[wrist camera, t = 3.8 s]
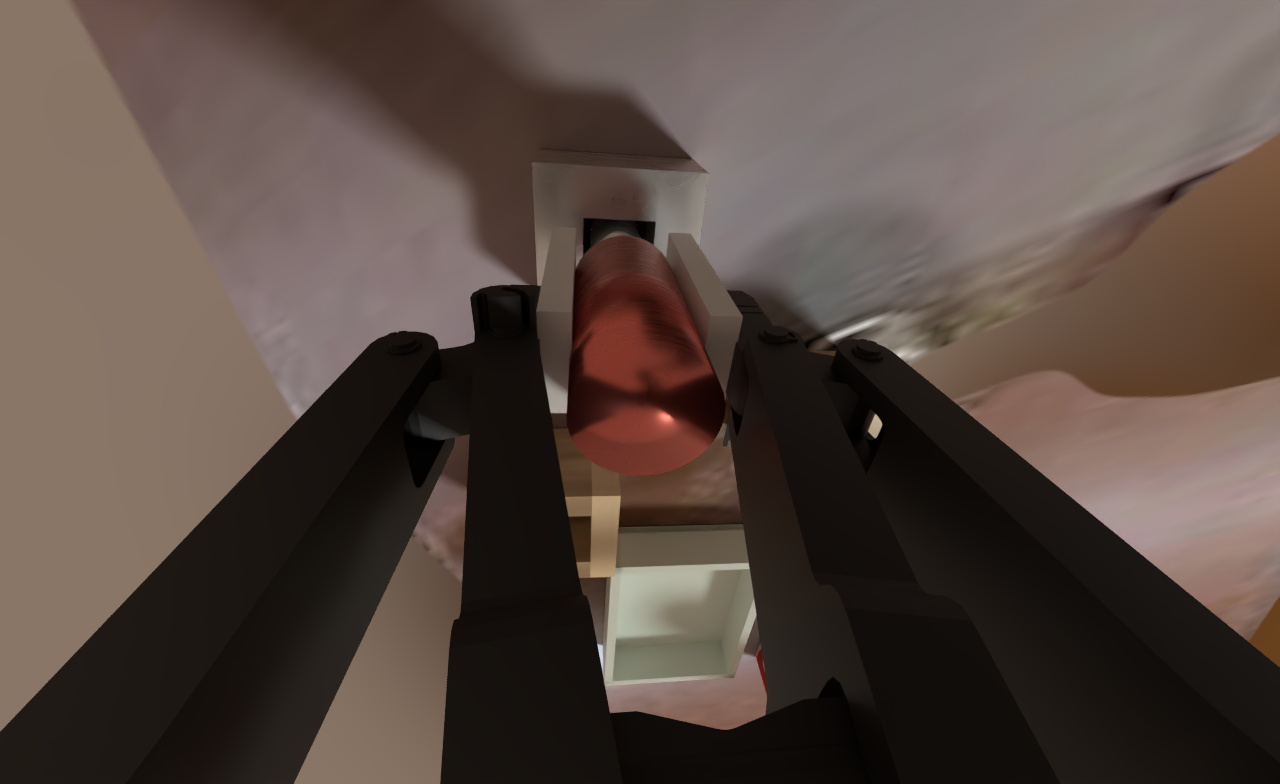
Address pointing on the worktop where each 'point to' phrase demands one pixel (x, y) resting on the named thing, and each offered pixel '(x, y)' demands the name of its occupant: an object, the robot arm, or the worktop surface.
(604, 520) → the oak block
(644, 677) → the tray
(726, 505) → the worktop surface
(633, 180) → the stand
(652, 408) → the cylinder
